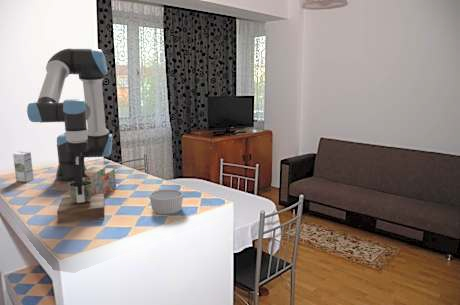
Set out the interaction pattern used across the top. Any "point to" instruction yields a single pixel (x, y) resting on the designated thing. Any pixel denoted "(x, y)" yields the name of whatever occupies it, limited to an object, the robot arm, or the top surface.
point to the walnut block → (81, 209)
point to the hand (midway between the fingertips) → (81, 197)
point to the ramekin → (166, 201)
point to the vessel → (87, 190)
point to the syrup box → (23, 166)
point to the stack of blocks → (101, 179)
